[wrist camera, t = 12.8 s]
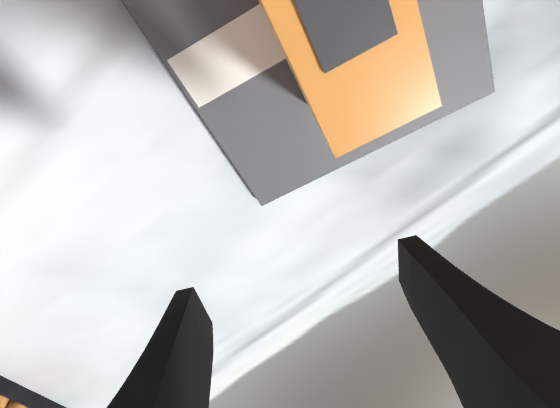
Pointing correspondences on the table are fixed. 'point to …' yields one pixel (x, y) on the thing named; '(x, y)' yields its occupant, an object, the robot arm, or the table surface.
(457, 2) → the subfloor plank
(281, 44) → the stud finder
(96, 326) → the table surface
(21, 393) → the ammunition clip
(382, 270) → the table surface
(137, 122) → the table surface
